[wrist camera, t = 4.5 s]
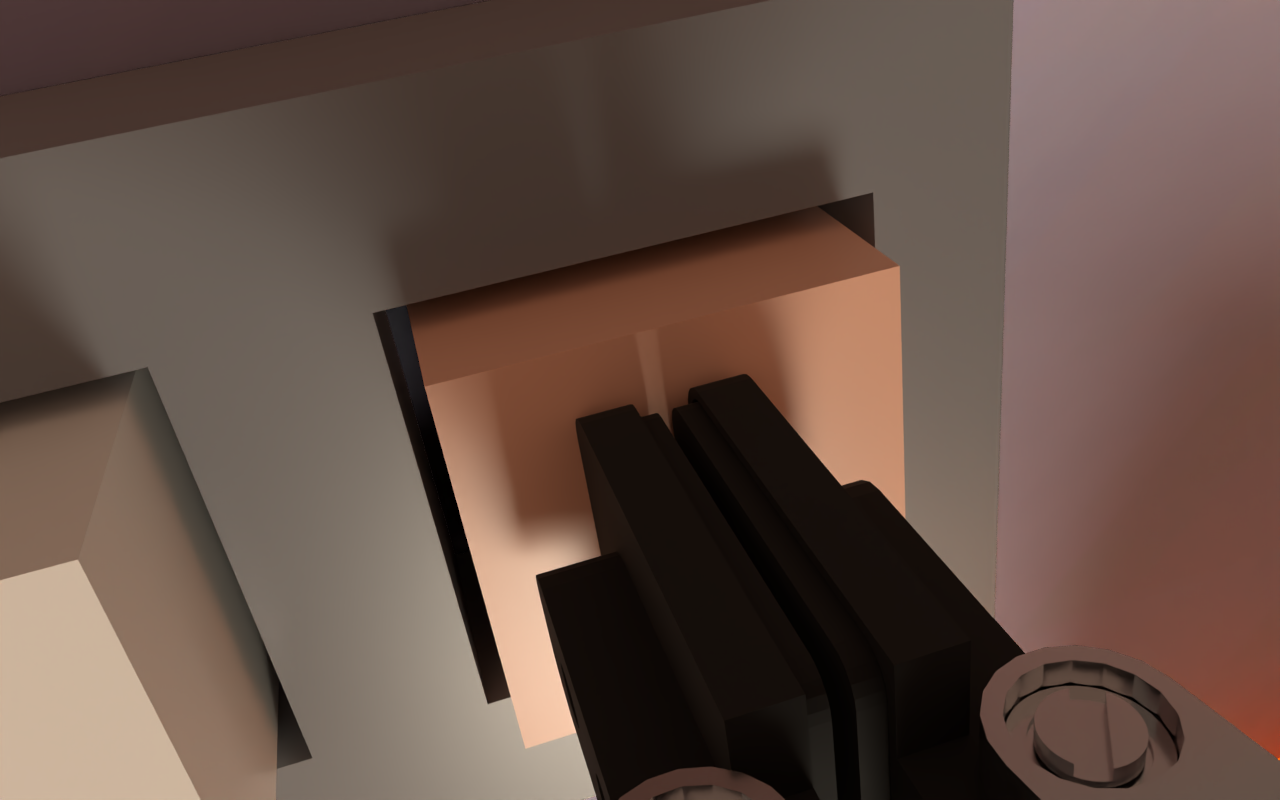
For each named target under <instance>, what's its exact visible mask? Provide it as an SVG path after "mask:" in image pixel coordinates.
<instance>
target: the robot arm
mask: <svg viewBox="0 0 1280 800" xmlns="http://www.w3.org/2000/svg"><path fill="white" fill-rule="evenodd" d="M672 423H673V430H674V436H673V435H672V433H671V432H670V430H669V429H668V427H667V425H666V424H665V422H664V421H663V419H662V417H661V416H660V415H659V414H658V413H654V414H650V415H647V416H643V417H641V416H640V414H639V413H638V411H637V409H636V408H635V407H634V405H633V404H629V405H626V406H622V407H618V408H614V409H611V410H607V411H603V412H600V413H596V414H592V415H588V416H585V417H581V418H577V419H576V422H575V424H576V433H577V438H578V444H579V448H580V453H581V458H582V463H583V468H584V473H585V478H586V483H587V488H588V493H589V498H590V503H591V508H592V513H593V518H594V523H595V528H596V533H597V538H598V543H599V548H600V553H601V556H599V557H595V558H592V559H589V560H585V561H582V562H578V563H575V564H571V565H568V566H565V567H561V568H558V569H554V570H551V571H548V572H544V573H541V574H537V575H536V581H537V587H538V591H539V595H540V600H541V604H542V608H543V612H544V616H545V620H546V624H547V628H548V632H549V636H550V640H551V644H552V648H553V652H554V656H555V660H556V664H557V667H558V671H559V675H560V678H561V682H562V686H563V689H564V693H565V696H566V700H567V703H568V707H569V710H570V714H571V717H572V720H573V723H574V727H575V730H576V733H577V736H578V740H579V743H580V746H581V749H582V752H583V755H584V759H585V762H586V765H587V768H588V771H589V775H590V778H591V781H592V784H593V787H594V791H595V794H596V797H597V800H1280V760H1278V759H1277V758H1276V757H1274V756H1273V755H1272V754H1270V753H1269V752H1268V751H1266V750H1265V749H1264V748H1263V747H1261V746H1260V745H1259V744H1257V743H1256V742H1255V741H1253V740H1252V739H1251V738H1249V737H1248V736H1247V735H1245V734H1244V733H1243V732H1241V731H1240V730H1239V729H1237V728H1236V727H1235V726H1234V725H1232V724H1231V723H1230V722H1228V721H1227V720H1226V719H1224V718H1223V717H1222V716H1220V715H1219V714H1218V713H1216V712H1215V711H1214V710H1212V709H1211V708H1210V707H1208V706H1207V705H1206V704H1204V703H1203V702H1202V701H1201V700H1199V699H1198V698H1197V697H1195V696H1194V695H1193V694H1191V693H1190V692H1189V691H1187V690H1186V689H1185V688H1183V687H1182V686H1181V685H1179V684H1178V683H1177V682H1175V681H1174V680H1173V679H1172V678H1170V677H1168V676H1167V675H1165V674H1163V673H1162V672H1160V671H1158V670H1156V669H1155V668H1153V667H1151V666H1150V665H1148V664H1146V663H1145V662H1143V661H1141V660H1138V659H1135V658H1132V657H1129V656H1126V655H1123V654H1120V653H1117V652H1115V651H1112V650H1108V649H1100V648H1093V647H1086V646H1078V645H1072V646H1058V647H1045V648H1041V649H1038V650H1035V651H1032V652H1029V653H1026V654H1025V653H1024V652H1023V651H1022V650H1021V648H1020V647H1019V646H1018V645H1017V644H1016V643H1015V642H1014V641H1013V639H1012V638H1011V637H1010V636H1009V635H1008V634H1007V633H1006V632H1005V630H1004V629H1003V628H1002V627H1001V626H1000V625H999V624H998V623H997V621H996V620H995V619H994V618H993V617H992V616H991V615H990V614H989V612H988V611H987V610H986V609H985V608H984V607H983V606H982V605H981V603H980V602H979V601H978V600H977V599H976V598H975V597H974V596H973V594H972V593H971V592H970V591H969V590H968V589H967V588H966V587H965V585H964V584H963V583H962V582H961V581H960V580H959V579H958V578H957V576H956V575H955V574H954V573H953V572H952V571H951V570H950V569H949V567H948V566H947V565H946V564H945V563H944V562H943V561H942V560H941V558H940V557H939V556H938V555H937V554H936V553H935V552H934V551H933V549H932V548H931V547H930V546H929V545H928V544H927V543H926V542H925V540H924V539H923V538H922V537H921V536H920V535H919V534H918V533H917V531H916V530H915V529H914V528H913V527H912V526H911V525H910V524H909V522H908V521H907V520H906V519H905V518H904V517H903V516H902V515H901V513H900V512H899V511H898V510H897V509H896V508H895V507H894V506H893V504H892V503H891V502H890V501H889V500H888V499H887V498H886V497H885V495H884V494H883V493H882V492H881V491H880V490H879V489H878V488H877V487H876V486H874V485H873V484H872V483H871V482H870V481H865V480H859V481H855V482H852V483H848V484H845V485H841V484H840V483H839V482H838V481H837V480H836V478H835V477H834V476H833V475H832V474H831V472H830V471H829V470H828V469H827V468H826V467H825V465H824V464H823V463H822V462H821V461H820V459H819V458H818V457H817V456H816V455H815V453H814V452H813V451H812V450H811V449H810V447H809V446H808V445H807V444H806V443H805V441H804V440H803V439H802V438H801V437H800V435H799V434H798V433H797V432H796V431H795V429H794V428H793V427H792V426H791V425H790V423H789V422H788V421H787V420H786V419H785V418H784V416H783V415H782V414H781V413H780V412H779V410H778V409H777V408H776V407H775V406H774V404H773V403H772V402H771V401H770V400H769V398H768V397H767V396H766V395H765V394H764V392H763V391H762V390H761V389H760V388H759V386H758V385H757V384H756V383H755V382H754V380H753V379H752V378H751V377H750V376H748V375H747V374H741V375H737V376H734V377H730V378H726V379H722V380H719V381H715V382H711V383H708V384H704V385H700V386H696V387H693V388H690V390H689V392H688V404H687V405H684V406H680V407H676V408H673V410H672ZM674 437H675V438H674Z"/></svg>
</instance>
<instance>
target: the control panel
mask: <svg viewBox="0 0 1280 800" xmlns="http://www.w3.org/2000/svg"><path fill="white" fill-rule="evenodd" d="M1012 32H1013V0H489V1H484V2H479V3H474V4H469V5H464V6H459V7H454V8H449V9H443V10H438V11H433V12H428V13H423V14H418V15H413V16H408V17H403V18H397V19H392V20H387V21H382V22H377V23H372V24H367V25H362V26H357V27H351V28H346V29H341V30H336V31H331V32H326V33H321V34H316V35H311V36H306V37H300V38H295V39H290V40H285V41H280V42H275V43H270V44H265V45H260V46H254V47H249V48H244V49H239V50H234V51H229V52H224V53H219V54H214V55H209V56H203V57H198V58H193V59H188V60H183V61H178V62H173V63H168V64H163V65H157V66H152V67H147V68H142V69H137V70H132V71H127V72H122V73H117V74H111V75H106V76H101V77H96V78H91V79H86V80H81V81H76V82H71V83H66V84H60V85H55V86H50V87H45V88H40V89H35V90H30V91H25V92H20V93H14V94H9V95H4V96H0V403H1V402H5V401H10V400H14V399H18V398H22V397H26V396H30V395H34V394H39V393H43V392H47V391H51V390H55V389H59V388H63V387H68V386H72V385H76V384H80V383H84V382H88V381H93V380H97V379H101V378H105V377H109V376H113V375H117V374H122V373H126V372H130V371H134V370H138V369H142V368H146V367H148V369H149V372H150V374H151V376H152V379H153V381H154V384H155V386H156V388H157V391H158V393H159V395H160V398H161V400H162V403H163V405H164V407H165V410H166V412H167V414H168V417H169V419H170V421H171V424H172V426H173V429H174V431H175V433H176V436H177V438H178V440H179V443H180V445H181V448H182V450H183V452H184V455H185V457H186V459H187V462H188V464H189V467H190V469H191V471H192V474H193V476H194V478H195V481H196V483H197V485H198V488H199V490H200V493H201V495H202V497H203V500H204V502H205V504H206V507H207V509H208V512H209V514H210V516H211V519H212V521H213V523H214V526H215V528H216V530H217V533H218V535H219V538H220V540H221V542H222V545H223V547H224V549H225V552H226V554H227V557H228V559H229V561H230V564H231V566H232V568H233V571H234V573H235V575H236V578H237V580H238V583H239V585H240V587H241V590H242V592H243V594H244V597H245V599H246V602H247V604H248V606H249V609H250V611H251V613H252V616H253V618H254V621H255V623H256V625H257V628H258V630H259V632H260V635H261V637H262V639H263V642H264V644H265V647H266V649H267V651H268V654H269V656H270V658H271V661H272V663H273V666H274V668H275V670H276V673H277V675H278V677H279V695H278V734H277V772H276V800H584V799H587V798H590V797H593V796H596V794H595V791H594V787H593V784H592V781H591V778H590V775H589V771H588V768H587V765H586V762H585V759H584V755H583V752H582V749H581V746H580V743H579V740H578V736H577V733H574V734H571V735H568V736H565V737H561V738H558V739H555V740H552V741H549V742H546V743H542V744H539V745H536V746H533V747H530V748H527V749H525V746H524V742H523V738H522V735H521V731H520V728H519V724H518V720H517V717H516V713H515V710H514V706H513V703H512V699H511V695H510V692H509V688H508V685H507V681H506V677H505V674H504V670H503V667H502V663H501V659H500V656H499V652H498V649H497V645H496V641H495V638H494V634H493V631H492V627H491V623H490V620H489V616H488V613H487V609H486V605H485V602H484V598H483V595H482V591H481V588H480V584H479V580H478V577H477V573H476V570H475V566H474V562H473V559H472V555H471V552H470V551H466V552H463V553H459V554H455V550H454V547H453V543H452V540H451V537H450V533H449V530H448V526H447V523H446V519H445V516H444V512H443V509H442V505H441V502H440V498H439V495H438V491H437V488H436V484H435V481H434V477H433V474H432V470H431V467H430V463H429V460H428V457H427V453H426V450H425V446H424V443H423V439H422V436H421V432H420V429H419V425H418V422H417V418H416V415H415V411H414V408H413V404H412V401H411V397H410V394H409V390H408V387H407V383H406V380H405V377H404V373H403V370H402V366H401V363H400V359H399V356H398V352H397V349H396V345H395V342H394V338H393V335H392V331H391V328H390V324H389V321H388V317H387V314H386V310H387V309H391V308H395V307H400V306H404V305H408V304H412V303H416V302H420V301H425V300H429V299H433V298H437V297H441V296H445V295H449V294H454V293H458V292H462V291H466V290H470V289H474V288H478V287H483V286H487V285H491V284H495V283H499V282H503V281H508V280H512V279H516V278H520V277H524V276H528V275H532V274H537V273H541V272H545V271H549V270H553V269H557V268H561V267H566V266H570V265H574V264H578V263H582V262H586V261H591V260H595V259H599V258H603V257H607V256H611V255H615V254H620V253H624V252H628V251H632V250H636V249H640V248H644V247H649V246H653V245H657V244H661V243H665V242H669V241H674V240H678V239H682V238H686V237H690V236H694V235H698V234H703V233H707V232H711V231H715V230H719V229H723V228H727V227H732V226H736V225H740V224H744V223H748V222H752V221H757V220H761V219H765V218H769V217H773V216H777V215H781V214H786V213H790V212H794V211H798V210H802V209H806V208H810V207H815V206H818V207H819V208H821V209H822V210H823V211H825V212H826V213H827V214H829V215H830V216H832V217H833V218H834V219H836V220H837V221H839V222H840V223H841V224H843V225H844V226H845V227H847V228H848V229H850V230H851V231H852V232H854V233H855V234H856V235H858V236H859V237H861V238H862V239H863V240H865V241H866V242H868V243H869V244H870V245H872V246H873V247H874V248H876V249H877V250H879V251H880V252H881V253H883V254H884V255H885V256H887V257H888V258H890V259H891V260H892V261H894V262H895V263H897V264H898V265H899V266H900V298H901V342H902V387H903V431H904V475H905V519H906V520H907V521H908V522H909V524H910V525H911V526H912V527H913V528H914V529H915V530H916V531H917V533H918V534H919V535H920V536H921V537H922V538H923V539H924V540H925V542H926V543H927V544H928V545H929V546H930V547H931V548H932V549H933V551H934V552H935V553H936V554H937V555H938V556H939V557H940V558H941V560H942V561H943V562H944V563H945V564H946V565H947V566H948V567H949V569H950V570H951V571H952V572H953V573H954V574H955V575H956V576H957V578H958V579H959V580H960V581H961V582H962V583H963V584H964V585H965V587H966V588H967V589H968V590H969V591H970V592H971V593H972V594H973V596H974V597H975V598H976V599H977V600H978V601H979V602H980V603H981V605H982V606H983V607H984V608H985V609H986V610H987V611H988V612H989V614H990V615H991V616H992V617H993V618H994V619H995V590H996V557H997V524H998V492H999V459H1000V426H1001V393H1002V360H1003V327H1004V294H1005V262H1006V229H1007V196H1008V163H1009V130H1010V97H1011V65H1012Z"/></svg>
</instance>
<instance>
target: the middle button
mask: <svg viewBox="0 0 1280 800" xmlns="http://www.w3.org/2000/svg"><path fill="white" fill-rule="evenodd" d="M278 695H279V677H278V675H277V673H276V670H275V668H274V666H273V663H272V661H271V658H270V656H269V654H268V651H267V649H266V647H265V644H264V642H263V639H262V637H261V635H260V632H259V630H258V628H257V625H256V623H255V621H254V618H253V616H252V613H251V611H250V609H249V606H248V604H247V602H246V599H245V597H244V594H243V592H242V590H241V587H240V585H239V583H238V580H237V578H236V575H235V573H234V571H233V568H232V566H231V564H230V561H229V559H228V557H227V554H226V552H225V549H224V547H223V545H222V542H221V540H220V538H219V535H218V533H217V530H216V528H215V526H214V523H213V521H212V519H211V516H210V514H209V512H208V509H207V507H206V504H205V502H204V500H203V497H202V495H201V493H200V490H199V488H198V485H197V483H196V481H195V478H194V476H193V474H192V471H191V469H190V467H189V464H188V462H187V459H186V457H185V455H184V452H183V450H182V448H181V445H180V443H179V440H178V438H177V436H176V433H175V431H174V429H173V426H172V424H171V421H170V419H169V417H168V414H167V412H166V410H165V407H164V405H163V403H162V400H161V398H160V395H159V393H158V391H157V388H156V386H155V384H154V381H153V379H152V376H151V374H150V372H149V369H148V367H146V368H142V369H138V370H134V371H130V372H126V373H122V374H117V375H113V376H109V377H105V378H101V379H97V380H93V381H88V382H84V383H80V384H76V385H72V386H68V387H63V388H59V389H55V390H51V391H47V392H43V393H39V394H34V395H30V396H26V397H22V398H18V399H14V400H10V401H5V402H1V403H0V800H276V772H277V734H278Z"/></svg>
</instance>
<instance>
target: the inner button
mask: <svg viewBox="0 0 1280 800" xmlns="http://www.w3.org/2000/svg"><path fill="white" fill-rule="evenodd" d="M407 310H408V314H409V319H410V323H411V328H412V332H413V337H414V341H415V346H416V350H417V355H418V359H419V364H420V368H421V373H422V377H423V382H424V386H425V390H426V393H427V397H428V401H429V404H430V408H431V411H432V415H433V419H434V422H435V426H436V429H437V433H438V437H439V440H440V444H441V447H442V451H443V455H444V458H445V462H446V465H447V469H448V473H449V476H450V480H451V483H452V487H453V490H454V494H455V498H456V501H457V505H458V508H459V512H460V516H461V519H462V523H463V526H464V530H465V534H466V537H467V541H468V544H469V548H470V552H471V555H472V559H473V562H474V566H475V570H476V573H477V577H478V580H479V584H480V588H481V591H482V595H483V598H484V602H485V605H486V609H487V613H488V616H489V620H490V623H491V627H492V631H493V634H494V638H495V641H496V645H497V649H498V652H499V656H500V659H501V663H502V667H503V670H504V674H505V677H506V681H507V685H508V688H509V692H510V695H511V699H512V703H513V706H514V710H515V713H516V717H517V720H518V724H519V728H520V731H521V735H522V738H523V742H524V746H525V749H527V748H530V747H533V746H536V745H539V744H542V743H546V742H549V741H552V740H555V739H558V738H561V737H565V736H568V735H571V734H574V733H576V730H575V727H574V723H573V720H572V717H571V714H570V710H569V707H568V703H567V700H566V696H565V693H564V689H563V686H562V682H561V678H560V675H559V671H558V667H557V664H556V660H555V656H554V652H553V648H552V644H551V640H550V636H549V632H548V628H547V624H546V620H545V616H544V612H543V608H542V604H541V600H540V595H539V591H538V587H537V581H536V575H537V574H541V573H544V572H548V571H551V570H554V569H558V568H561V567H565V566H568V565H571V564H575V563H578V562H582V561H585V560H589V559H592V558H595V557H599V556H601V553H600V548H599V543H598V538H597V533H596V528H595V523H594V518H593V513H592V508H591V503H590V498H589V493H588V488H587V483H586V478H585V473H584V468H583V463H582V458H581V453H580V448H579V444H578V438H577V433H576V424H575V422H576V419H577V418H581V417H585V416H588V415H592V414H596V413H600V412H603V411H607V410H611V409H614V408H618V407H622V406H626V405H629V404H633V405H634V407H635V408H636V409H637V411H638V413H639V414H640V416H641V417H643V416H647V415H650V414H654V413H658V414H659V415H660V416H661V417H662V419H663V421H664V422H665V424H666V425H667V427H668V429H669V430H670V432H671V433H672V435H673V436H674V430H673V423H672V410H673V408H676V407H680V406H684V405H687V404H688V392H689V390H690V388H693V387H696V386H700V385H704V384H708V383H711V382H715V381H719V380H722V379H726V378H730V377H734V376H737V375H741V374H747V375H748V376H750V377H751V378H752V379H753V380H754V382H755V383H756V384H757V385H758V386H759V388H760V389H761V390H762V391H763V392H764V394H765V395H766V396H767V397H768V398H769V400H770V401H771V402H772V403H773V404H774V406H775V407H776V408H777V409H778V410H779V412H780V413H781V414H782V415H783V416H784V418H785V419H786V420H787V421H788V422H789V423H790V425H791V426H792V427H793V428H794V429H795V431H796V432H797V433H798V434H799V435H800V437H801V438H802V439H803V440H804V441H805V443H806V444H807V445H808V446H809V447H810V449H811V450H812V451H813V452H814V453H815V455H816V456H817V457H818V458H819V459H820V461H821V462H822V463H823V464H824V465H825V467H826V468H827V469H828V470H829V471H830V472H831V474H832V475H833V476H834V477H835V478H836V480H837V481H838V482H839V483H840V484H841V485H845V484H848V483H852V482H855V481H859V480H865V481H870V482H871V483H872V484H873V485H874V486H876V487H877V488H878V489H879V490H880V491H881V492H882V493H883V494H884V495H885V497H886V498H887V499H888V500H889V501H890V502H891V503H892V504H893V506H894V507H895V508H896V509H897V510H898V511H899V512H900V513H901V515H902V516H903V517H904V518H905V475H904V431H903V387H902V342H901V298H900V266H899V265H898V264H897V263H895V262H894V261H892V260H891V259H890V258H888V257H887V256H885V255H884V254H883V253H881V252H880V251H879V250H877V249H876V248H874V247H873V246H872V245H870V244H869V243H868V242H866V241H865V240H863V239H862V238H861V237H859V236H858V235H856V234H855V233H854V232H852V231H851V230H850V229H848V228H847V227H845V226H844V225H843V224H841V223H840V222H839V221H837V220H836V219H834V218H833V217H832V216H830V215H829V214H827V213H826V212H825V211H823V210H822V209H821V208H819V207H818V206H815V207H810V208H806V209H802V210H798V211H794V212H790V213H786V214H781V215H777V216H773V217H769V218H765V219H761V220H757V221H752V222H748V223H744V224H740V225H736V226H732V227H727V228H723V229H719V230H715V231H711V232H707V233H703V234H698V235H694V236H690V237H686V238H682V239H678V240H674V241H669V242H665V243H661V244H657V245H653V246H649V247H644V248H640V249H636V250H632V251H628V252H624V253H620V254H615V255H611V256H607V257H603V258H599V259H595V260H591V261H586V262H582V263H578V264H574V265H570V266H566V267H561V268H557V269H553V270H549V271H545V272H541V273H537V274H532V275H528V276H524V277H520V278H516V279H512V280H508V281H503V282H499V283H495V284H491V285H487V286H483V287H478V288H474V289H470V290H466V291H462V292H458V293H454V294H449V295H445V296H441V297H437V298H433V299H429V300H425V301H420V302H416V303H412V304H408V305H407ZM674 438H675V437H674Z"/></svg>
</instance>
